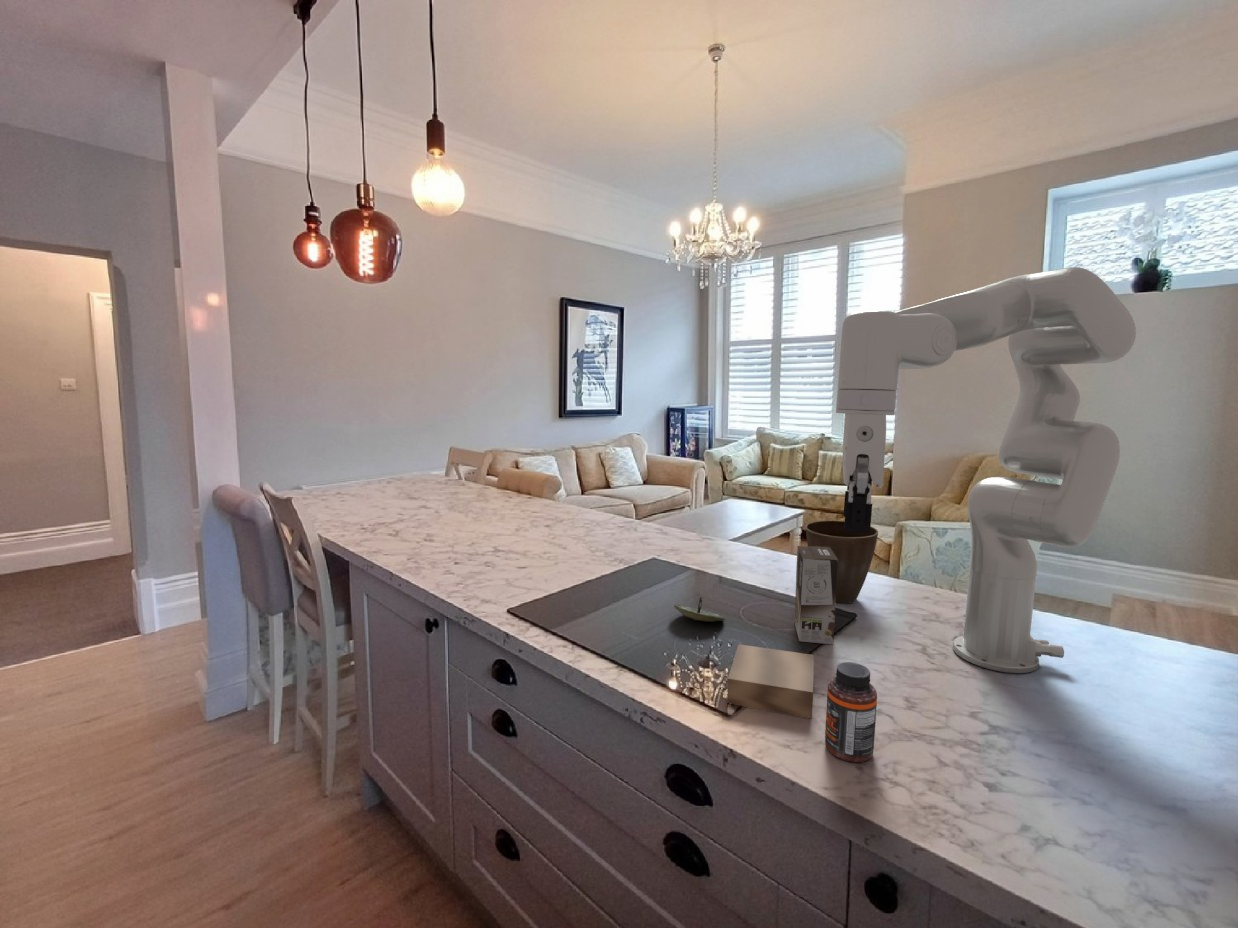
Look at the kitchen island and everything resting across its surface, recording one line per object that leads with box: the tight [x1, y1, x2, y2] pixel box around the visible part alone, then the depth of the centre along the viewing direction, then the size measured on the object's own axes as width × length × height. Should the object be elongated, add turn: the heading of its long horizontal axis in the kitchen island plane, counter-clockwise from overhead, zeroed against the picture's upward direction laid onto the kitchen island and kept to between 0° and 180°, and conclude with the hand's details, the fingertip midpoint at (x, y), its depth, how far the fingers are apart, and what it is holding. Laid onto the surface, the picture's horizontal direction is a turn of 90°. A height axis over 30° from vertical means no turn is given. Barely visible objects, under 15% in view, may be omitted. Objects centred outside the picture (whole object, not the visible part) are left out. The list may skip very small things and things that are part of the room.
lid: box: [673, 596, 726, 623], centre depth 115 cm, size 11×10×5 cm
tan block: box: [726, 644, 814, 719], centre depth 89 cm, size 12×12×4 cm
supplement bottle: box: [824, 661, 878, 763], centre depth 74 cm, size 6×6×11 cm
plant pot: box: [805, 520, 879, 605], centre depth 127 cm, size 15×15×16 cm
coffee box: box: [794, 545, 838, 645], centre depth 109 cm, size 9×6×16 cm
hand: (855, 524), depth 81 cm, fingers open, 9 cm apart
